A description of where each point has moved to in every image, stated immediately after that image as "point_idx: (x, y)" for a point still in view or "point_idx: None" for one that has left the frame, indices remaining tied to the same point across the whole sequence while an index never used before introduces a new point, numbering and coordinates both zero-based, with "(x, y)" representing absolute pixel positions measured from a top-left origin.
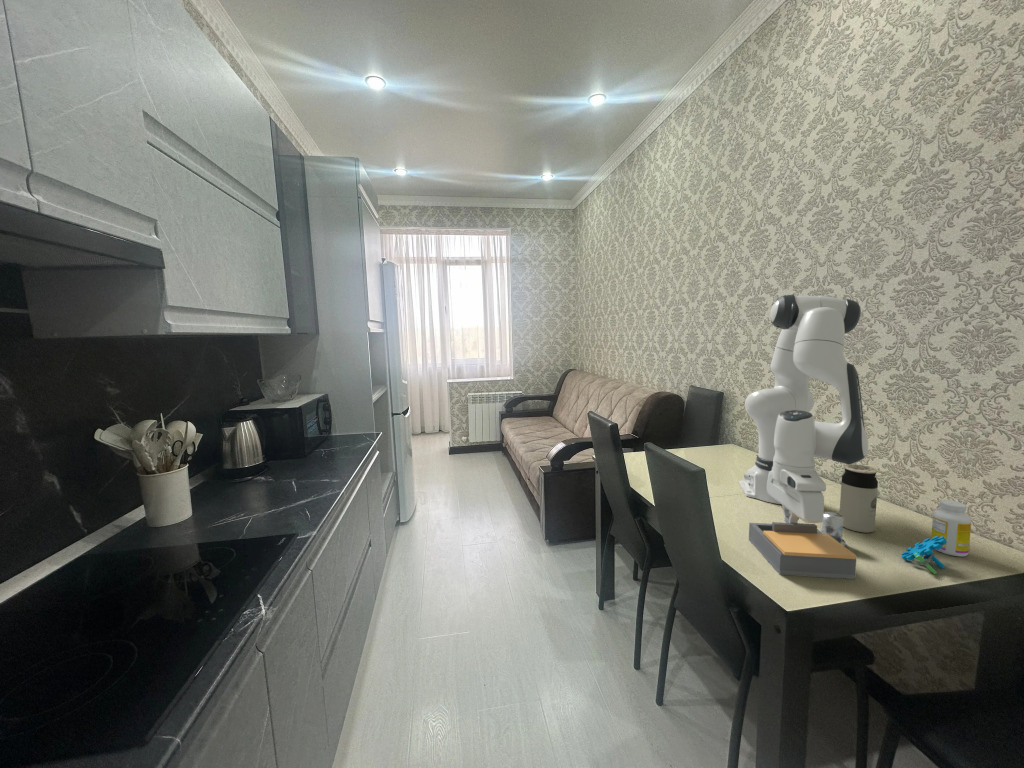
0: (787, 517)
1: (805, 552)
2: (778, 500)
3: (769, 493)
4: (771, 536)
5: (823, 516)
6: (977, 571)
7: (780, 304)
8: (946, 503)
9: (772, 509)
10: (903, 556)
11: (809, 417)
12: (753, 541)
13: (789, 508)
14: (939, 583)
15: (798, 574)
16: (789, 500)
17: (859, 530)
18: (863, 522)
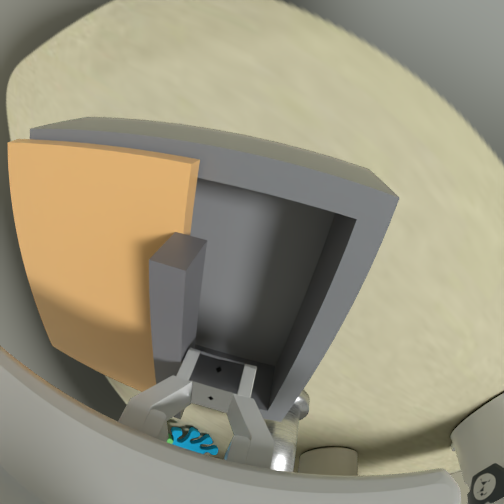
0: (216, 390)
1: (17, 223)
2: (287, 487)
3: (425, 484)
4: (109, 165)
5: (273, 463)
6: None
7: None
8: None
9: (475, 391)
10: (192, 432)
11: None
12: (316, 155)
13: (95, 430)
14: (127, 401)
15: None
16: (75, 486)
17: (307, 453)
18: (302, 471)
